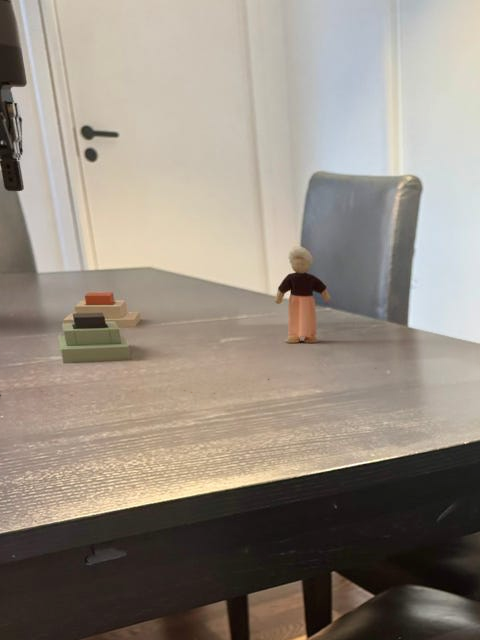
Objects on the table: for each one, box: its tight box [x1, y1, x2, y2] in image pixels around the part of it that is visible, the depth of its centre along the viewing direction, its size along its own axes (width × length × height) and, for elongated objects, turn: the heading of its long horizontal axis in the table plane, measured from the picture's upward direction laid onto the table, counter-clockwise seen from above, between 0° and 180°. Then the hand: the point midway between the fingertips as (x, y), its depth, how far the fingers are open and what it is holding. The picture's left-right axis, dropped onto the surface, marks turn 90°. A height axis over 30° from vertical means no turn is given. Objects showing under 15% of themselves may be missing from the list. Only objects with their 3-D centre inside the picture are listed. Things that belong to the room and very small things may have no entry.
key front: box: [73, 313, 106, 329], centre depth 117 cm, size 4×4×2 cm
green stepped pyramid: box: [57, 321, 132, 364], centre depth 118 cm, size 11×8×4 cm
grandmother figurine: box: [274, 245, 331, 344], centre depth 128 cm, size 8×4×13 cm, turn 114°
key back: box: [84, 292, 115, 305], centre depth 139 cm, size 4×4×2 cm
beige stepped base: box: [62, 300, 142, 329], centre depth 140 cm, size 10×8×3 cm
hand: (14, 190), depth 126 cm, fingers closed
